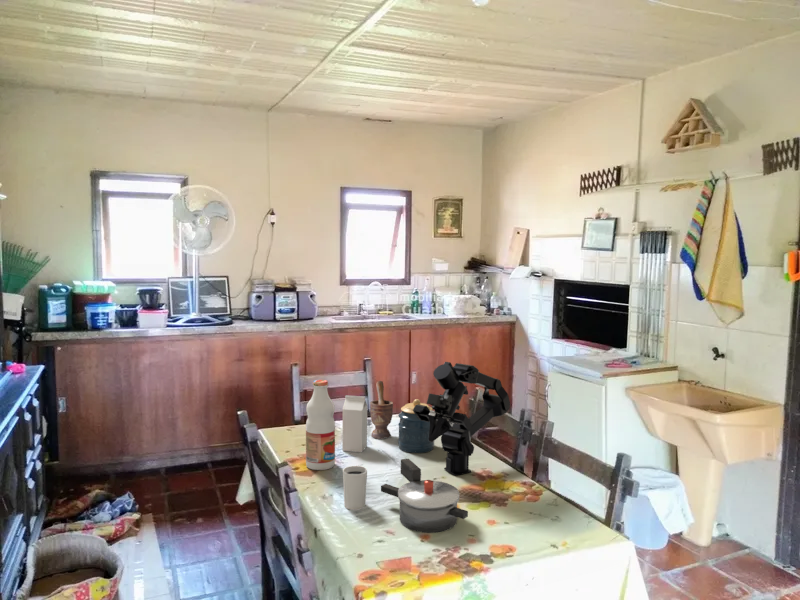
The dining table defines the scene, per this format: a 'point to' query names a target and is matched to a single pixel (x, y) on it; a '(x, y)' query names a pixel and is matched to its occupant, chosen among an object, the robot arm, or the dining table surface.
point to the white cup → (354, 487)
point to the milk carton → (354, 424)
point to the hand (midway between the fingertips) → (430, 441)
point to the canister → (413, 430)
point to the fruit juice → (320, 429)
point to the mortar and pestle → (381, 414)
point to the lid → (425, 490)
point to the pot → (426, 515)
